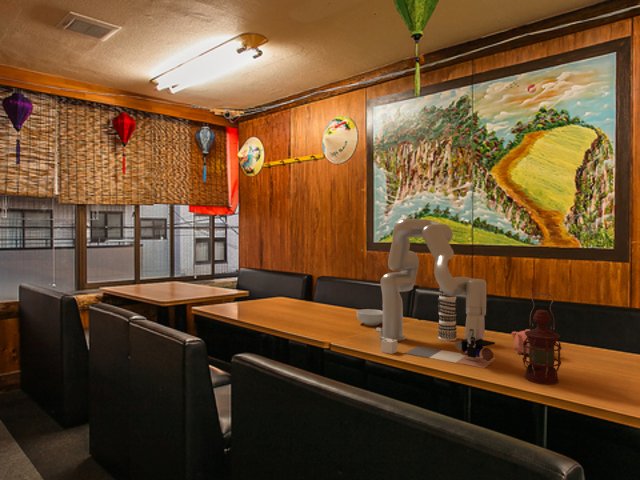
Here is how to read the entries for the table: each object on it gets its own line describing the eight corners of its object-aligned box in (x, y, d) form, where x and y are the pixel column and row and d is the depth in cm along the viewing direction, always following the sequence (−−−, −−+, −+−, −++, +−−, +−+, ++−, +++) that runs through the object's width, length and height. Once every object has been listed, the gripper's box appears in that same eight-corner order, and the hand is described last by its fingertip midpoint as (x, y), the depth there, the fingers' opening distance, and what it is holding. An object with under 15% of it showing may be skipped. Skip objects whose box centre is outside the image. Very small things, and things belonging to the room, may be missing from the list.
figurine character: (454, 357, 178) (486, 363, 165) (453, 338, 179) (484, 342, 166) (466, 355, 182) (497, 360, 169) (464, 336, 182) (496, 340, 169)
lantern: (568, 381, 151) (569, 293, 150) (550, 388, 144) (551, 296, 143) (533, 371, 161) (534, 289, 160) (515, 378, 154) (515, 292, 153)
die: (381, 352, 187) (381, 340, 187) (386, 349, 191) (386, 338, 191) (391, 354, 184) (391, 342, 184) (397, 351, 188) (397, 339, 188)
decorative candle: (439, 335, 217) (439, 285, 217) (458, 337, 213) (459, 286, 213) (435, 339, 209) (435, 287, 209) (455, 341, 205) (456, 288, 205)
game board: (404, 353, 184) (404, 352, 184) (418, 346, 196) (418, 346, 196) (484, 368, 165) (484, 367, 165) (495, 359, 176) (495, 359, 176)
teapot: (509, 348, 193) (510, 325, 193) (539, 350, 191) (539, 326, 191) (517, 357, 179) (517, 332, 179) (548, 359, 177) (548, 334, 177)
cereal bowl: (378, 328, 233) (378, 315, 233) (351, 325, 242) (351, 312, 242) (391, 323, 247) (391, 310, 247) (365, 320, 256) (365, 308, 256)
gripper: (473, 306, 182) (472, 348, 183) (458, 312, 169) (458, 357, 169) (492, 308, 178) (491, 351, 178) (478, 314, 164) (478, 361, 164)
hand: (475, 354), depth 174 cm, fingers closed on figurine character, 7 cm apart
